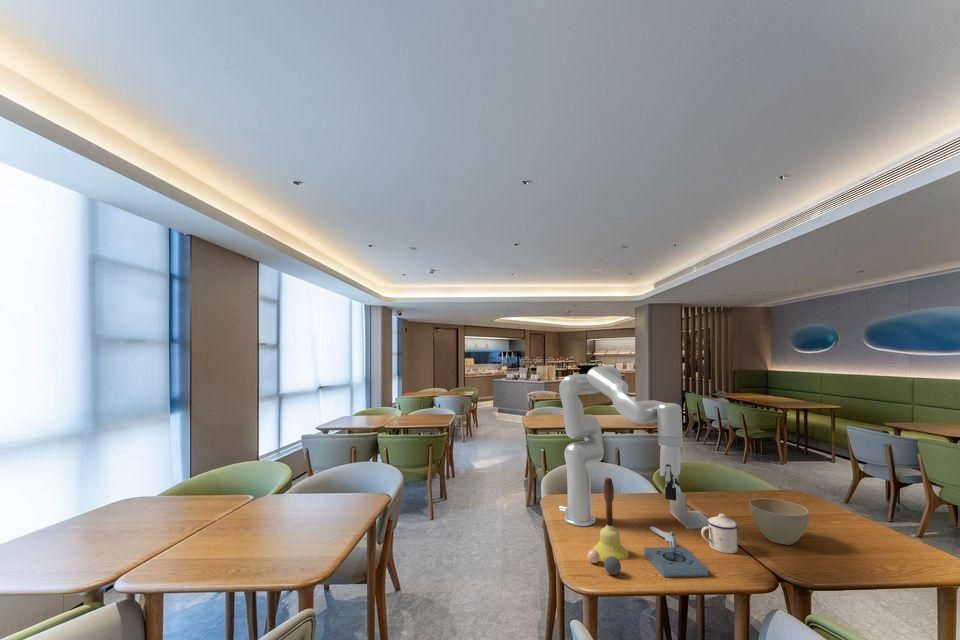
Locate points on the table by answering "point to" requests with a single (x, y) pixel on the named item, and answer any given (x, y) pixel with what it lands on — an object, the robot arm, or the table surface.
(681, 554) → the housing plate
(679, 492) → the steel ball
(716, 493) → the table surface
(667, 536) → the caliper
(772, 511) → the grey beige bowl
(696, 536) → the table surface
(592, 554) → the pink ball
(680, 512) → the laptop
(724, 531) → the teacup with lid
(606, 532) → the handbell
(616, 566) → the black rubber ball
